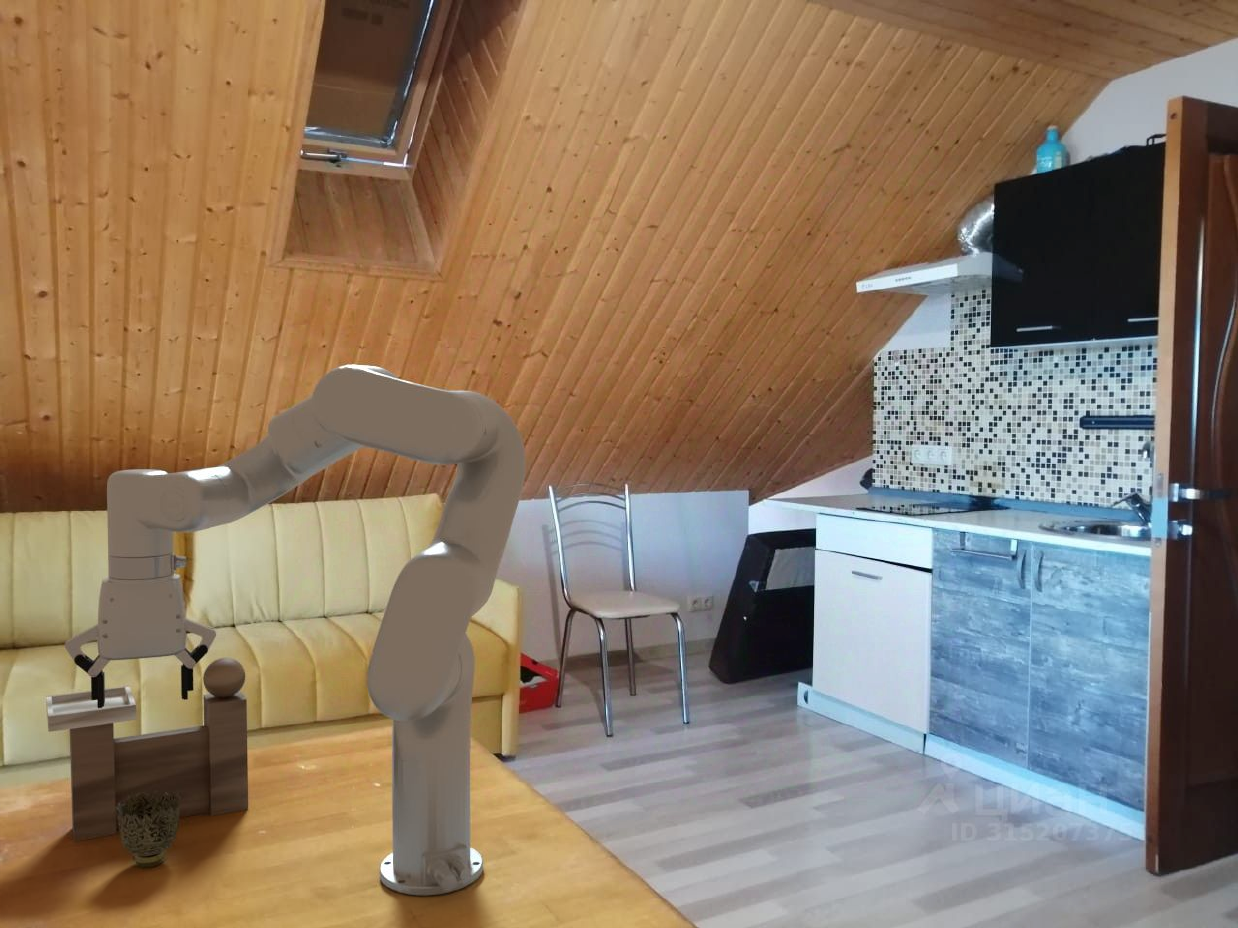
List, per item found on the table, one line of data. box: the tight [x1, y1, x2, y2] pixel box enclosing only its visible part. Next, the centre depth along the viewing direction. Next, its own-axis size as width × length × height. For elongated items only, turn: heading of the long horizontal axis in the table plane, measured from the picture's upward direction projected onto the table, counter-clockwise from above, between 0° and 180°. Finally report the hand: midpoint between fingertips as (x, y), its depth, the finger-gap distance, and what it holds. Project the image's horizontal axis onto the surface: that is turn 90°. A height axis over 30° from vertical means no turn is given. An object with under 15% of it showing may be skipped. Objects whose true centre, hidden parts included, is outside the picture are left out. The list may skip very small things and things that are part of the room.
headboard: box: [45, 657, 249, 843], centre depth 141 cm, size 10×25×22 cm, turn 120°
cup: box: [116, 791, 181, 868], centre depth 129 cm, size 8×7×8 cm
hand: (143, 700), depth 130 cm, fingers open, 9 cm apart
